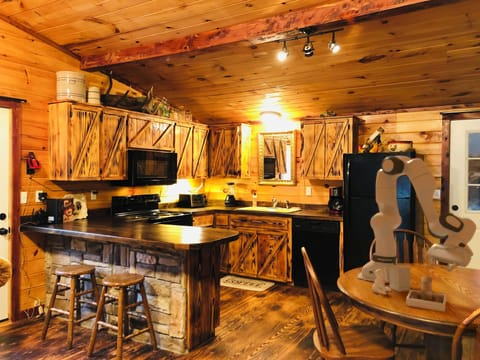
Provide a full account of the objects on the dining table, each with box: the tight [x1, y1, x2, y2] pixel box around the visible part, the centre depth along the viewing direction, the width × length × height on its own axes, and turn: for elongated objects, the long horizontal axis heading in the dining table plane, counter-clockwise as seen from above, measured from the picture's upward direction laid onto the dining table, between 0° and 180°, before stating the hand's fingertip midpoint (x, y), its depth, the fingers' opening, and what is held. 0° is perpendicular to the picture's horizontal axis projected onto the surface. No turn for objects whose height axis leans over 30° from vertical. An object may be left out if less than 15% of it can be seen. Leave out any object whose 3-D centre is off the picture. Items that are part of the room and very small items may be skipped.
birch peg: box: [420, 275, 433, 301], centre depth 180 cm, size 4×4×12 cm
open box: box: [405, 289, 447, 312], centre depth 180 cm, size 16×16×4 cm
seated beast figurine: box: [371, 269, 392, 295], centre depth 198 cm, size 10×9×12 cm
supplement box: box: [389, 264, 411, 293], centre depth 202 cm, size 7×7×13 cm
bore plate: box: [411, 292, 443, 303], centre depth 180 cm, size 13×13×2 cm
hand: (439, 268), depth 185 cm, fingers open, 8 cm apart
